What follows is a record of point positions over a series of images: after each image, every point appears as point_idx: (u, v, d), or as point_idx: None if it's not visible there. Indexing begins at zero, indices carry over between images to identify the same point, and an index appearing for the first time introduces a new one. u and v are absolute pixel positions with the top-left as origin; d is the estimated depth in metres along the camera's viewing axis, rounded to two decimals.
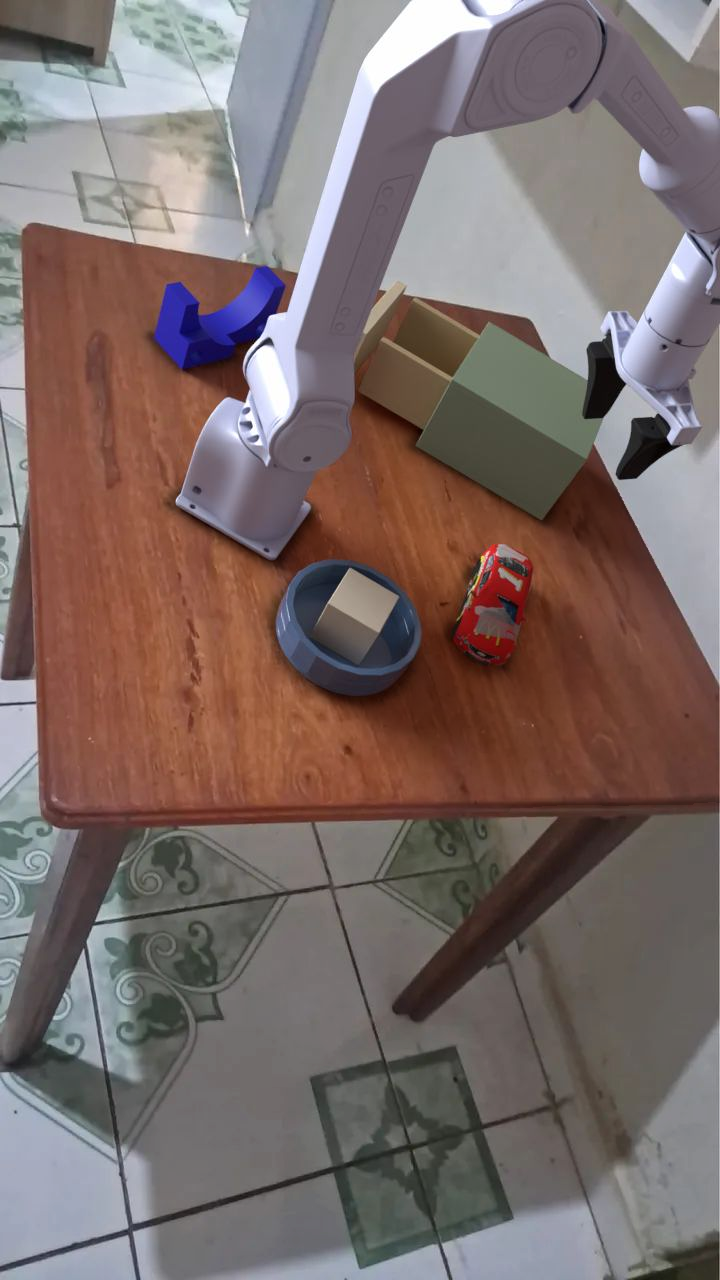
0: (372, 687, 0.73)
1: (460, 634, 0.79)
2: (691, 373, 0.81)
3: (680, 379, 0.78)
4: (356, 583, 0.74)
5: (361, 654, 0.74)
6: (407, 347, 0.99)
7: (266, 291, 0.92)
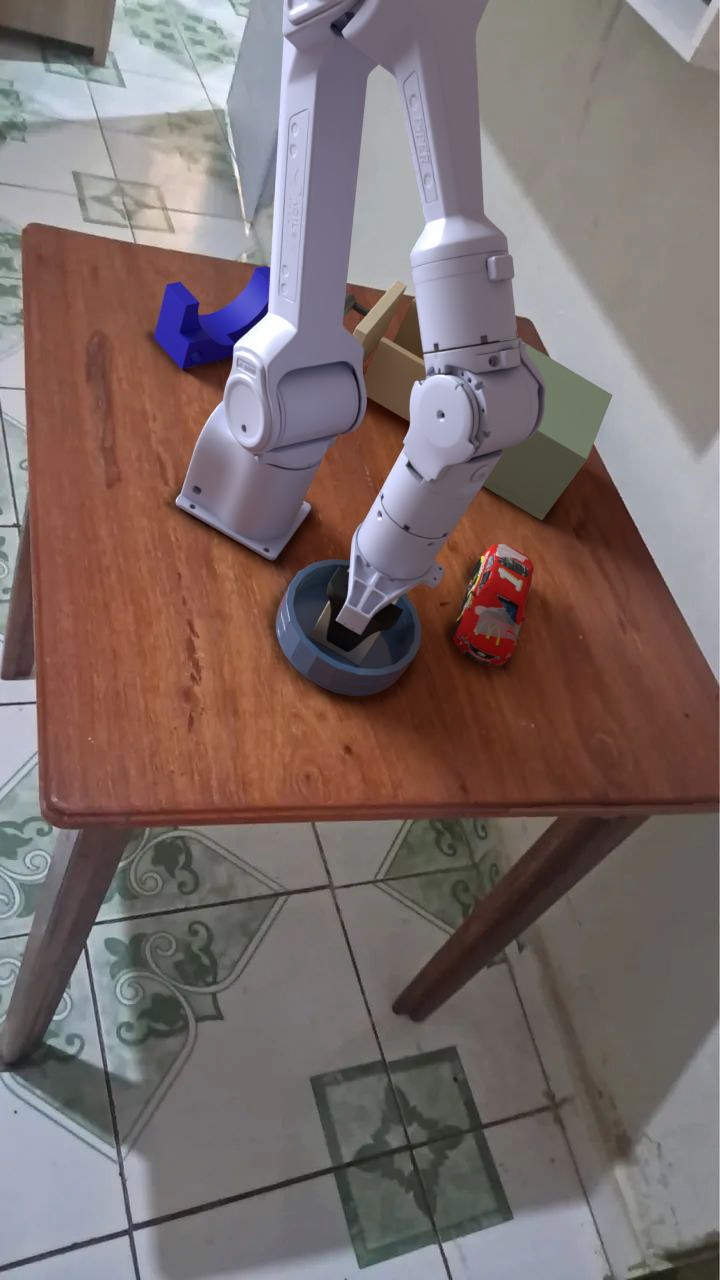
0: (372, 687, 0.73)
1: (460, 634, 0.79)
2: (429, 580, 0.68)
3: (394, 566, 0.66)
4: None
5: (361, 653, 0.74)
6: (407, 347, 0.99)
7: (266, 291, 0.92)
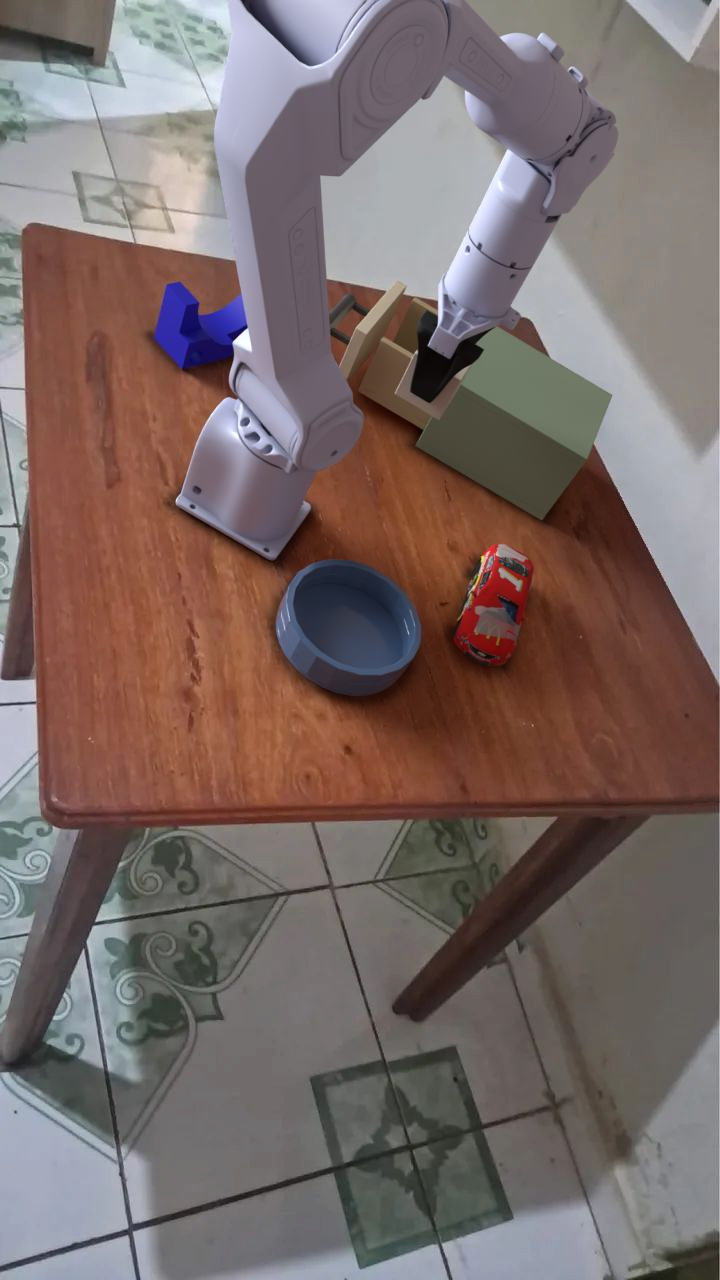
0: (372, 687, 0.73)
1: (460, 634, 0.79)
2: (508, 320, 0.76)
3: (479, 301, 0.74)
4: None
5: (442, 406, 0.82)
6: (407, 347, 0.99)
7: None
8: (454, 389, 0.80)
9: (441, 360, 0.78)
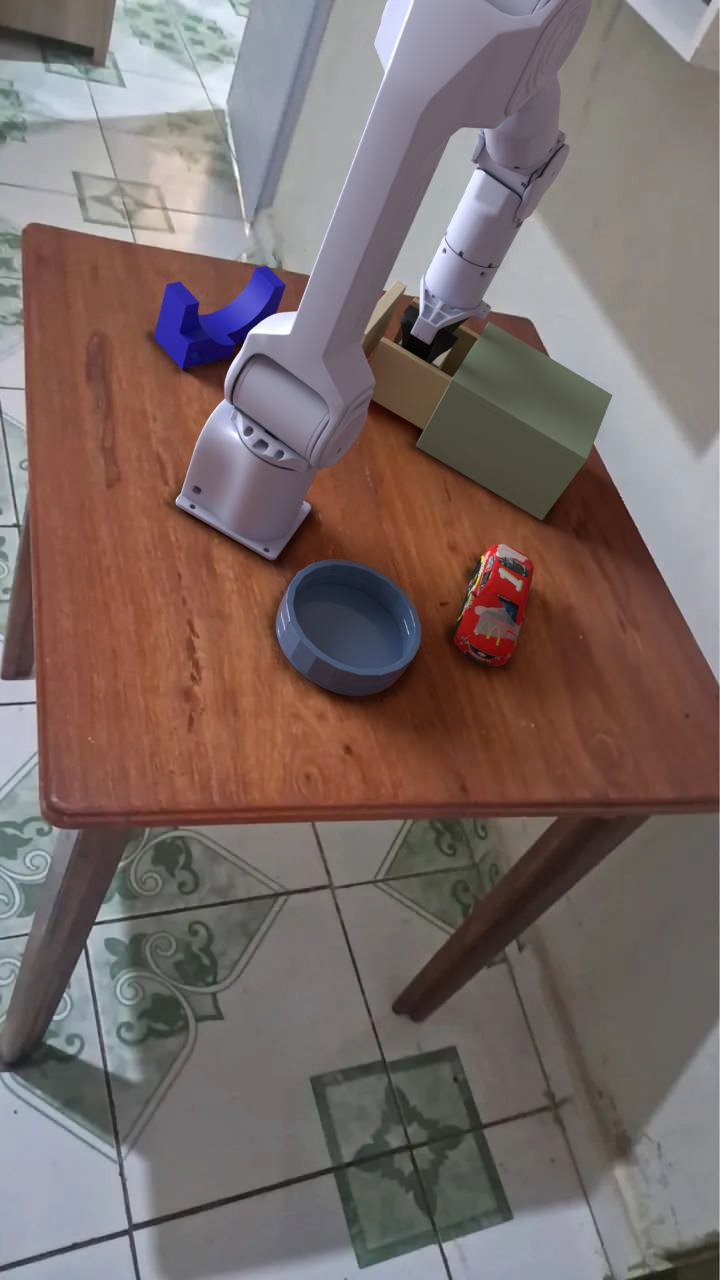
0: (372, 687, 0.73)
1: (460, 634, 0.79)
2: (480, 312, 0.88)
3: (454, 295, 0.86)
4: None
5: None
6: None
7: (266, 291, 0.92)
8: None
9: (422, 347, 0.90)
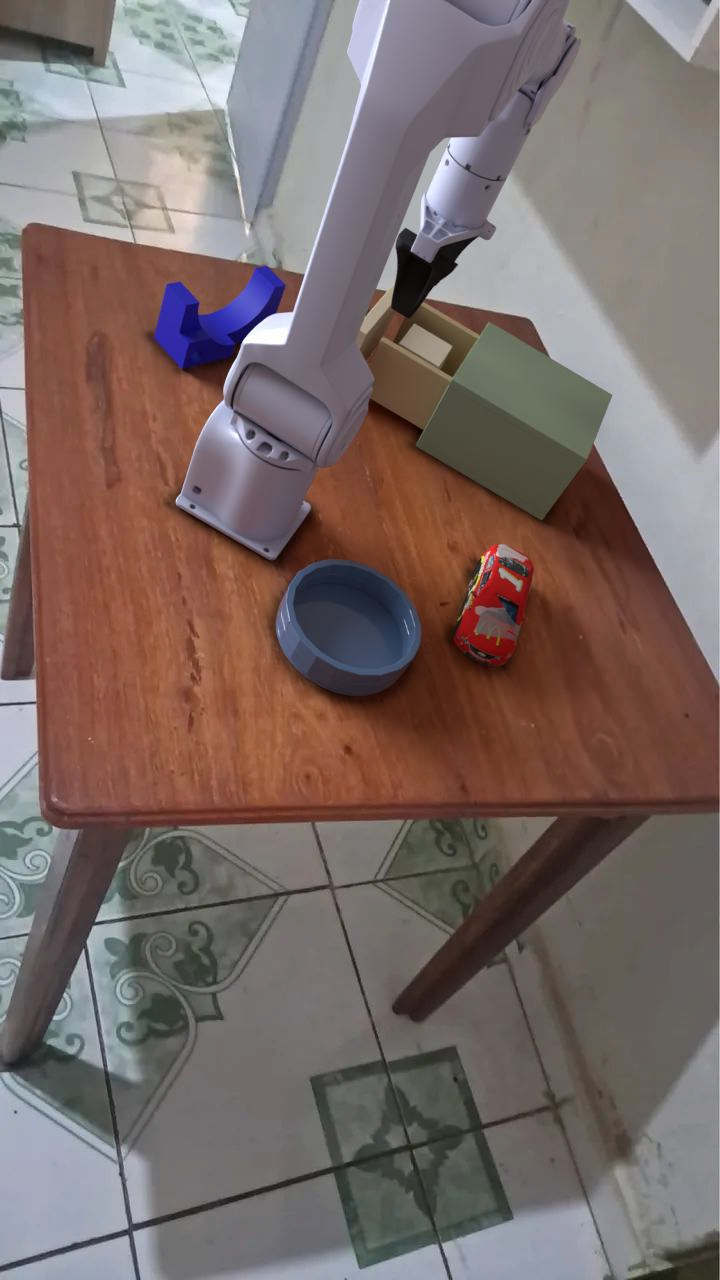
0: (372, 687, 0.73)
1: (460, 634, 0.79)
2: (484, 231, 0.83)
3: (457, 211, 0.81)
4: (420, 333, 0.94)
5: None
6: None
7: (266, 291, 0.92)
8: None
9: (419, 275, 0.85)
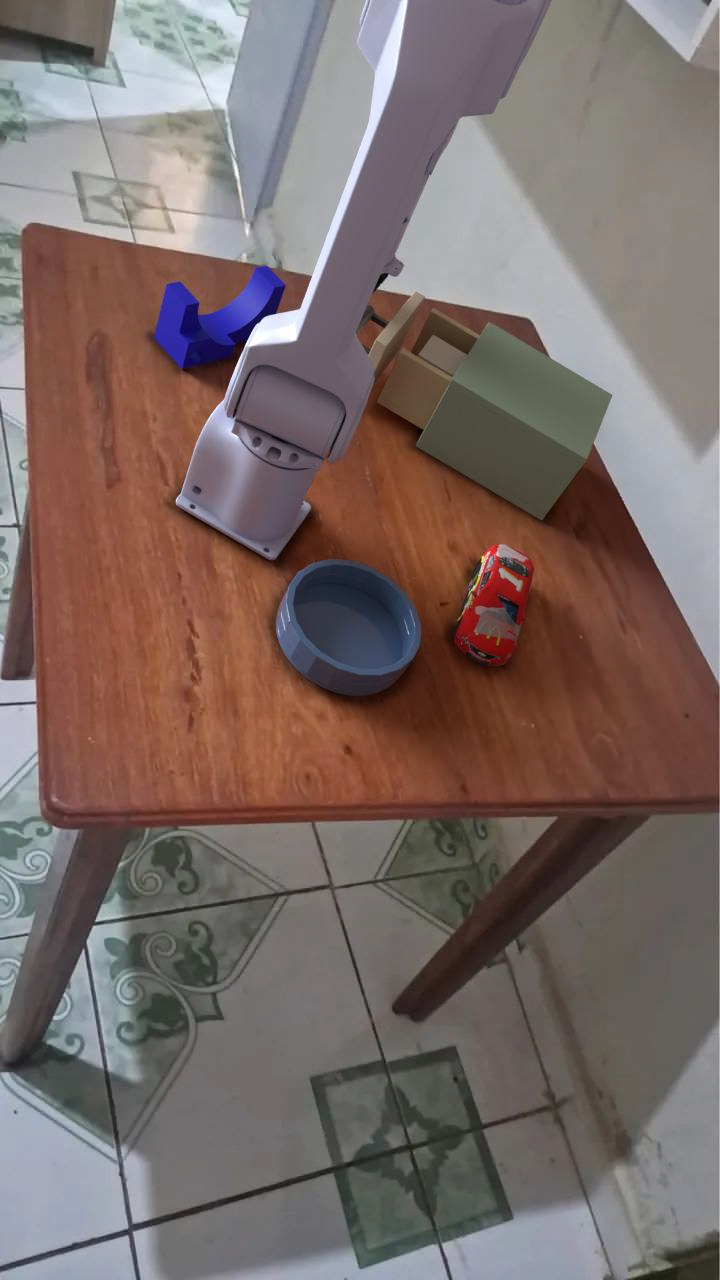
0: (372, 687, 0.73)
1: (460, 634, 0.79)
2: (392, 268, 0.89)
3: None
4: (438, 345, 0.94)
5: None
6: None
7: (266, 291, 0.92)
8: None
9: None
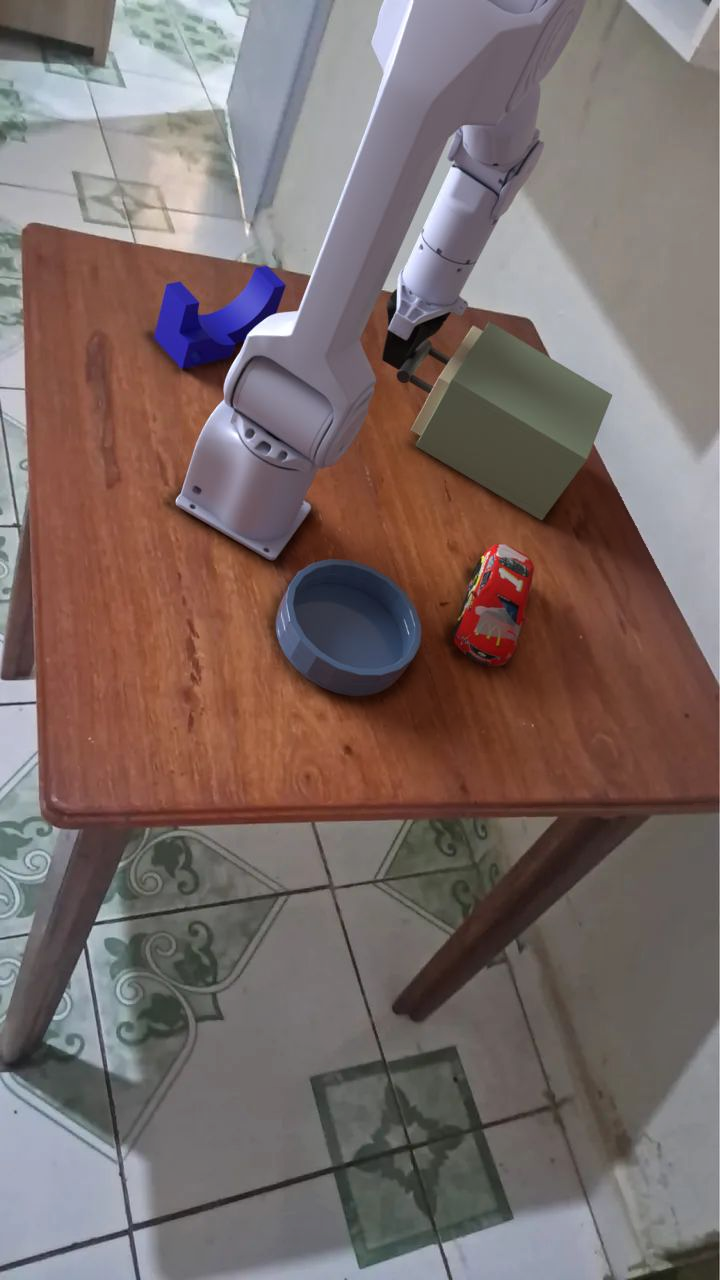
0: (372, 687, 0.73)
1: (461, 634, 0.79)
2: (457, 308, 0.89)
3: (431, 291, 0.87)
4: None
5: None
6: None
7: (266, 291, 0.92)
8: None
9: None
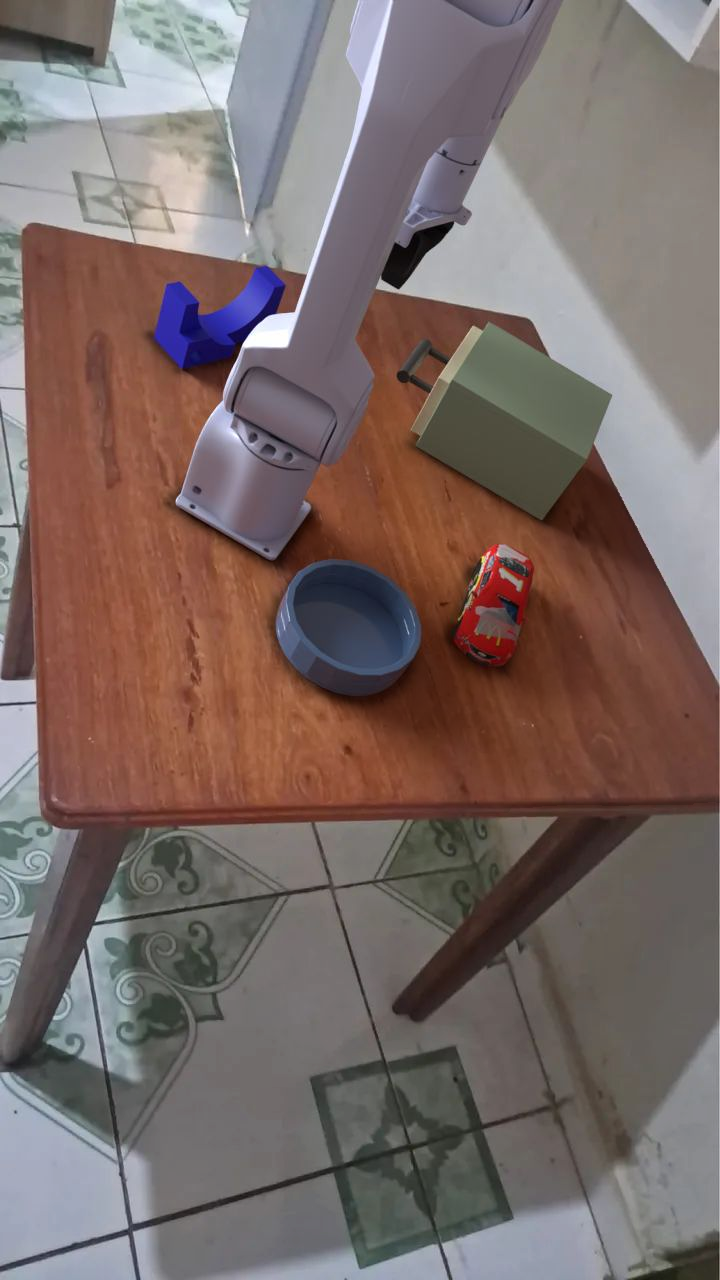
0: (372, 687, 0.73)
1: (461, 634, 0.79)
2: (460, 216, 0.83)
3: (432, 196, 0.81)
4: None
5: None
6: None
7: (266, 291, 0.92)
8: None
9: (408, 246, 0.87)
